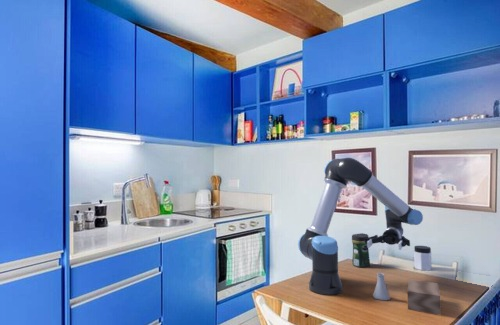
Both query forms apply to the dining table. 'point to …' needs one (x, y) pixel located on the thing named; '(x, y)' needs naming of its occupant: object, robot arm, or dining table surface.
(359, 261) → the coffee jar
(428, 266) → the jar
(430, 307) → the walnut block
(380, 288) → the flask
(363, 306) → the dining table surface
